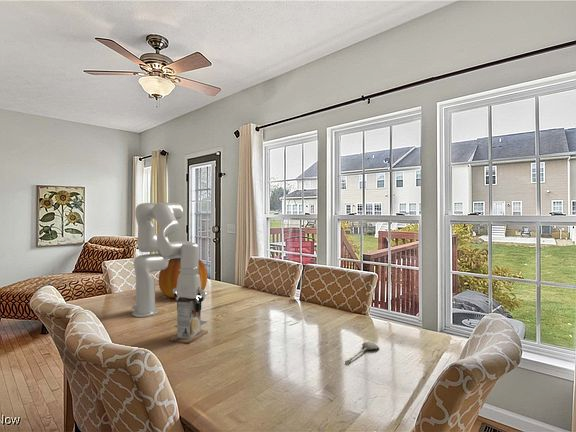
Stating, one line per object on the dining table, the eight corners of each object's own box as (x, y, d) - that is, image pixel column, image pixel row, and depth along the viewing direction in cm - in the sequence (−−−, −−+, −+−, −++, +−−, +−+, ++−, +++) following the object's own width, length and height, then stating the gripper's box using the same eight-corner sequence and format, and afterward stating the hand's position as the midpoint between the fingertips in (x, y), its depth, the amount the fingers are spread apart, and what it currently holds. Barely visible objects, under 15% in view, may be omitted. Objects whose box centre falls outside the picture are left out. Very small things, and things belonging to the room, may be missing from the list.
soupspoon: (382, 350, 127) (367, 346, 131) (382, 342, 127) (367, 338, 131) (354, 367, 110) (338, 362, 115) (354, 358, 110) (338, 353, 115)
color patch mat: (174, 326, 149) (174, 325, 149) (189, 319, 159) (189, 318, 159) (193, 329, 145) (193, 329, 145) (207, 321, 155) (207, 321, 155)
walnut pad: (169, 340, 132) (169, 338, 132) (189, 329, 145) (189, 328, 145) (189, 344, 129) (189, 342, 129) (207, 332, 141) (207, 331, 141)
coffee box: (188, 330, 142) (188, 294, 142) (200, 331, 141) (201, 295, 140) (176, 337, 133) (176, 300, 133) (190, 339, 132) (190, 301, 132)
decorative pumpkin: (194, 288, 225) (194, 246, 225) (215, 296, 203) (215, 250, 203) (152, 295, 205) (152, 249, 204) (170, 305, 183) (170, 254, 183)
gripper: (167, 271, 136) (167, 310, 136) (200, 274, 130) (200, 315, 130) (179, 268, 143) (178, 305, 143) (211, 271, 137) (210, 310, 137)
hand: (189, 310), depth 137 cm, fingers open, 9 cm apart
